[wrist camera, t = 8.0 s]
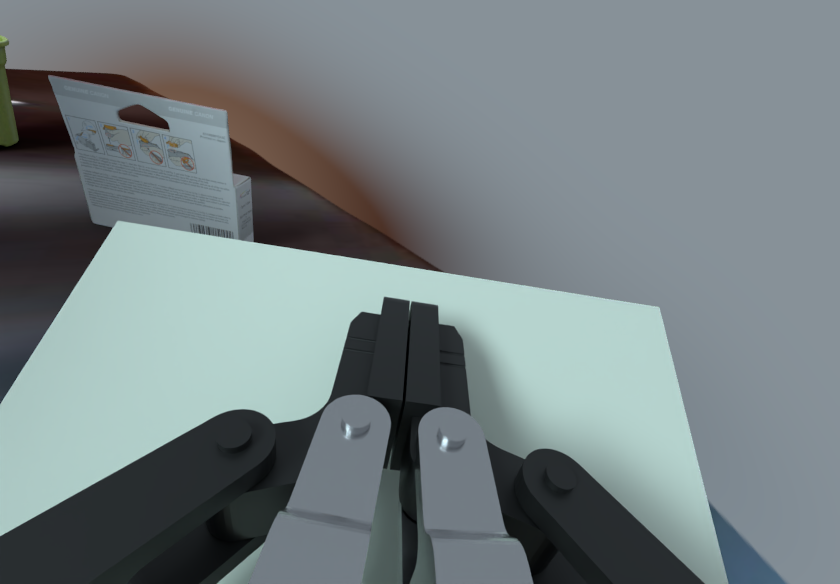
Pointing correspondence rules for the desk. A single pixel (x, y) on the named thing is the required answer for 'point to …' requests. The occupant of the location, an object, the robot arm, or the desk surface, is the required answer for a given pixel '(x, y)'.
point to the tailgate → (316, 371)
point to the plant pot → (6, 103)
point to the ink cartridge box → (155, 162)
